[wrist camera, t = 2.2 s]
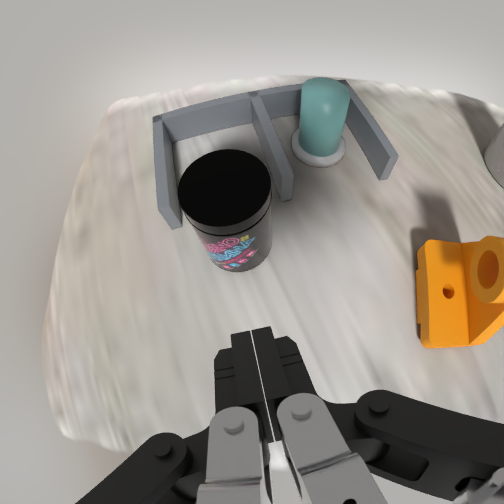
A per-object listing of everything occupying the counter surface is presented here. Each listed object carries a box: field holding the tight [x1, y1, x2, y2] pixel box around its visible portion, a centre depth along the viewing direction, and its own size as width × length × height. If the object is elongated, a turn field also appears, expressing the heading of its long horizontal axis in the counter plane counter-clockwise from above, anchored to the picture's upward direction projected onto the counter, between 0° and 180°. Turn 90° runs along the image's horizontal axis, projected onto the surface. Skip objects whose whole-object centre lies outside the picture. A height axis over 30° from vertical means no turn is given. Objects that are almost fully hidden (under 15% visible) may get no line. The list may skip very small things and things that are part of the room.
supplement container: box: [178, 149, 272, 272], centre depth 25 cm, size 7×7×10 cm
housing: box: [153, 78, 399, 229], centre depth 30 cm, size 14×26×9 cm, turn 104°
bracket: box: [415, 236, 504, 348], centre depth 21 cm, size 11×7×12 cm, turn 174°
